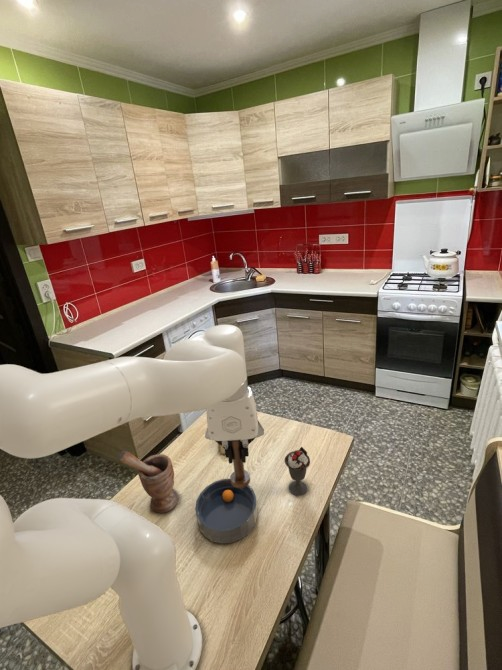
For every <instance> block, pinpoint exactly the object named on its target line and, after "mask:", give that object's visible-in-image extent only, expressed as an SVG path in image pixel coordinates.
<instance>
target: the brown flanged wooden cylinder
mask: <svg viewBox="0 0 502 670" xmlns="http://www.w3.org/2000/svg"><path fill="white" fill-rule="evenodd" d="M230 442H231V449H232V457H233V463H232V464H233V472H232V473H231V474H230V477H229V479H231V484H232V486H234V487H235V488H244V487H246V486H247V485H250V482H251V475H250V472H249V471H248V470H245V463H243V462H242V456H241V440H230Z"/></svg>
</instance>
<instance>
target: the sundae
mask: <svg viewBox="0 0 502 670" xmlns="http://www.w3.org/2000/svg"><path fill="white" fill-rule="evenodd" d="M284 463H285V466H286V467H287V468H288V473H289V476H290V478H291V480H293V481H292V482H290V483H289V486H288V489H289V492H290V493H291V494H292V495H294V496H303V495H305V494H306V493H307V491H308V486H307V484H306V483H305V482H304V481H303V480H305V477H306V474H307V470H308V468H309V467H310V465H311V459H310V456H309V455H308V452H307V450H305V448H304V447H303V446H300V448H299V449H296V450H293V451H291V452H288V453H287V455H286V456H285V457H284Z"/></svg>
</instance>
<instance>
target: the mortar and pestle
mask: <svg viewBox="0 0 502 670" xmlns="http://www.w3.org/2000/svg"><path fill="white" fill-rule="evenodd" d="M117 460H118V461H120V462H121V463H122V464H124V465H126V466H128V467H131V468H134V469H136V470H137V475H138V478H139V481H140V483H141V487H142V488H143V491H144V492H145V493H146V494H147V495H148V496H149V497H150V507H151V510H152V511H153V512H155V513H156V514H165V513H168V512H170V511H171V510H173V509H174V508H175V507H176V505H177V504H178V502H179V494H178V493H177V491H176V490H175V489H174V485H175V471H174V467H173V463H172V458H170V457H169V456H168V455H166V454H164V453H162V454H161V453H158V454H153V455H150V456H148V457H147V458H145V459H144V460H143V461H142V460H140V459H139V458H138V457H137V456H136V455H134V454H133V453H131V452H129V451H127V450H122V451H120V453H119V454H118V458H117Z"/></svg>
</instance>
